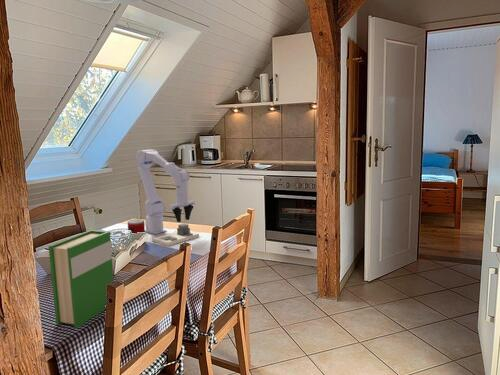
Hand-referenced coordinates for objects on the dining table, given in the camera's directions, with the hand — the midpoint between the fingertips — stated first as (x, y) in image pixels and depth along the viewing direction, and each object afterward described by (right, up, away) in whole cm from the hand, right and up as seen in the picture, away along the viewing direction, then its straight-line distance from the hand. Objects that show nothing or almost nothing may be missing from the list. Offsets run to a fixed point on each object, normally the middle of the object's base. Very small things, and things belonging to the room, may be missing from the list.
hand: (183, 220), depth 205 cm
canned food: (-21, -10, -8) cm, 25 cm away
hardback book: (-17, -22, -79) cm, 84 cm away
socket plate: (-3, -9, -2) cm, 10 cm away
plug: (0, -8, +1) cm, 8 cm away
